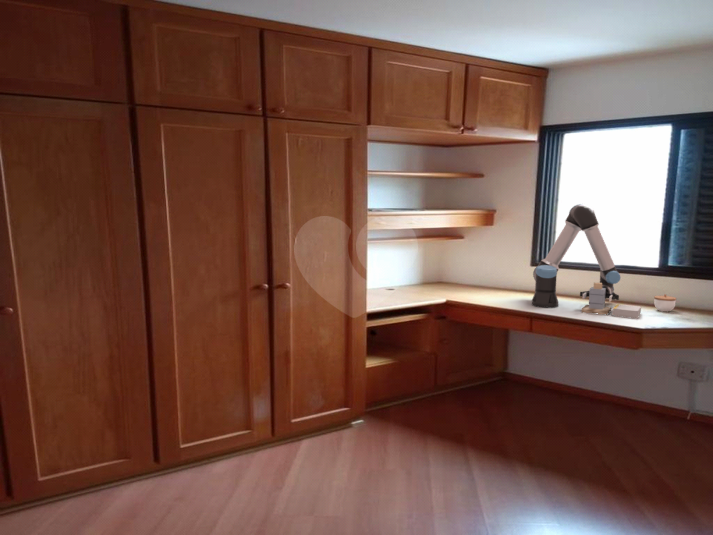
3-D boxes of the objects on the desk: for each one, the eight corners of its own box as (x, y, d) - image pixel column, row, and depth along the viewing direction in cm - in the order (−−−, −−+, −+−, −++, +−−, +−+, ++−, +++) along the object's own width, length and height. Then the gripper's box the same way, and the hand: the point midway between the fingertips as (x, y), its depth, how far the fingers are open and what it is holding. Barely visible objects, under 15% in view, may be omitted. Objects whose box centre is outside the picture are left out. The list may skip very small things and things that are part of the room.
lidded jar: (663, 313, 283) (664, 296, 282) (648, 309, 293) (649, 293, 292) (679, 312, 285) (681, 295, 284) (664, 308, 295) (666, 292, 294)
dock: (612, 315, 277) (612, 308, 276) (616, 311, 288) (616, 304, 287) (637, 318, 270) (637, 310, 269) (640, 313, 281) (641, 306, 281)
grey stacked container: (588, 308, 285) (589, 288, 284) (590, 305, 291) (592, 286, 290) (602, 309, 281) (603, 289, 280) (604, 307, 287) (605, 288, 286)
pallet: (581, 312, 285) (581, 308, 285) (586, 308, 296) (586, 304, 295) (607, 315, 278) (607, 311, 277) (611, 311, 288) (611, 307, 288)
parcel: (594, 288, 284) (594, 283, 283) (593, 287, 287) (593, 282, 287) (602, 289, 282) (602, 283, 282) (601, 288, 286) (601, 282, 286)
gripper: (626, 300, 294) (621, 307, 276) (580, 296, 308) (572, 302, 291) (627, 288, 293) (621, 293, 276) (580, 284, 307) (572, 289, 290)
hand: (596, 297), depth 283 cm, fingers open, 13 cm apart
